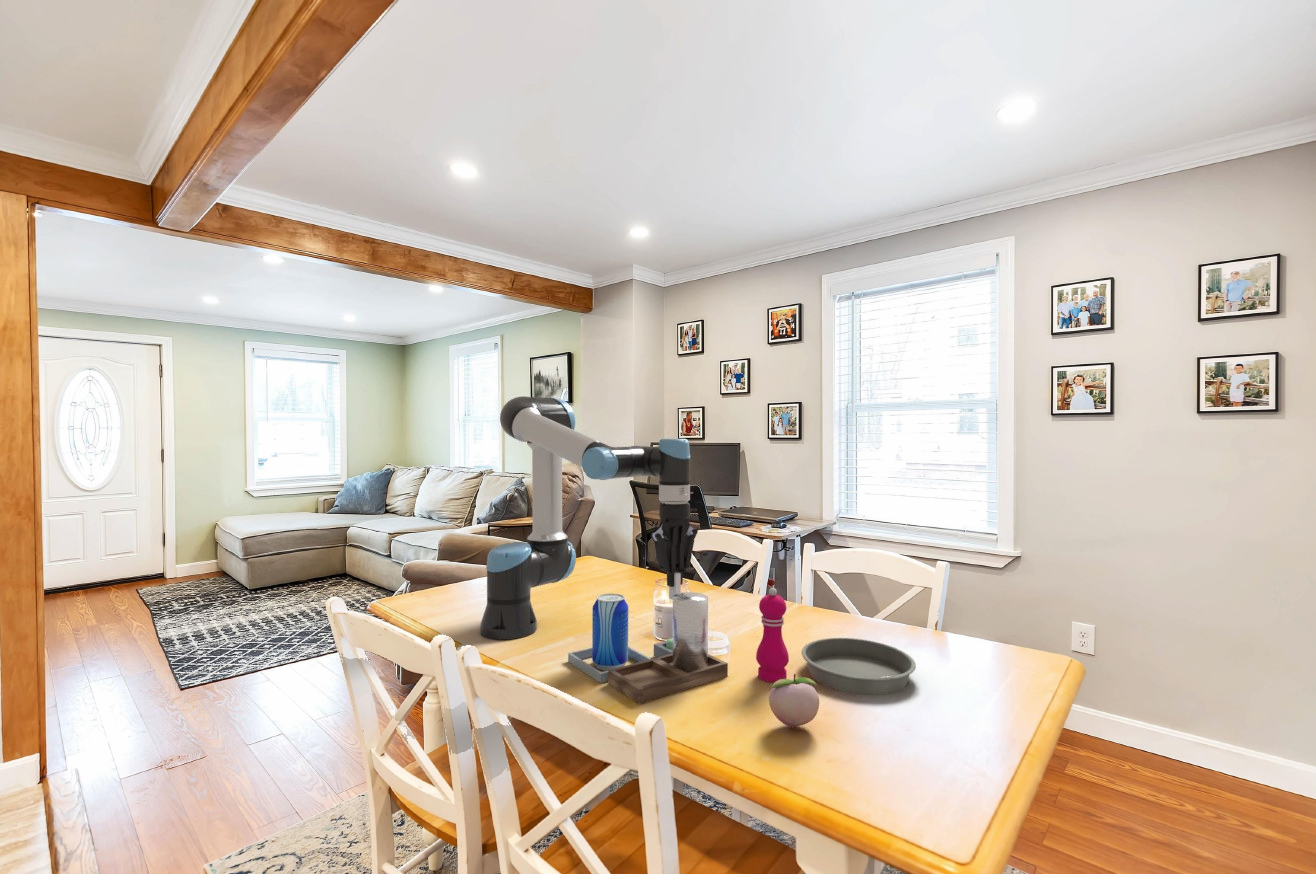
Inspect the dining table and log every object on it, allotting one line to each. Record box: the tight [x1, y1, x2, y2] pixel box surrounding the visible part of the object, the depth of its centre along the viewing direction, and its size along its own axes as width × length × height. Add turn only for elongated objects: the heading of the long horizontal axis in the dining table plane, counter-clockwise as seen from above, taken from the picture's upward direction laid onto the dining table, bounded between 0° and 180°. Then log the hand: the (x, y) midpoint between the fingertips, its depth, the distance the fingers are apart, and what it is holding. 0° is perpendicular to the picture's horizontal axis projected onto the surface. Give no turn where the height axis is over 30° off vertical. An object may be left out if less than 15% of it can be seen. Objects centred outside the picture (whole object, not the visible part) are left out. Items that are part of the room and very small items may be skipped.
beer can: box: [591, 593, 629, 671], centre depth 142 cm, size 8×8×16 cm
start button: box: [665, 637, 673, 650], centre depth 147 cm, size 4×4×4 cm
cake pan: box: [801, 637, 917, 695], centre depth 137 cm, size 25×25×4 cm
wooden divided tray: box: [607, 653, 729, 705], centre depth 133 cm, size 12×24×3 cm, turn 126°
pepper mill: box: [755, 587, 790, 684], centre depth 135 cm, size 7×7×20 cm
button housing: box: [653, 640, 673, 658], centre depth 147 cm, size 7×7×3 cm
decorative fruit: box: [768, 673, 820, 729], centre depth 112 cm, size 9×8×10 cm
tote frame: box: [567, 646, 652, 684], centre depth 142 cm, size 15×14×2 cm
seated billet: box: [672, 591, 709, 673], centre depth 137 cm, size 8×8×16 cm
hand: (674, 599), depth 146 cm, fingers closed
